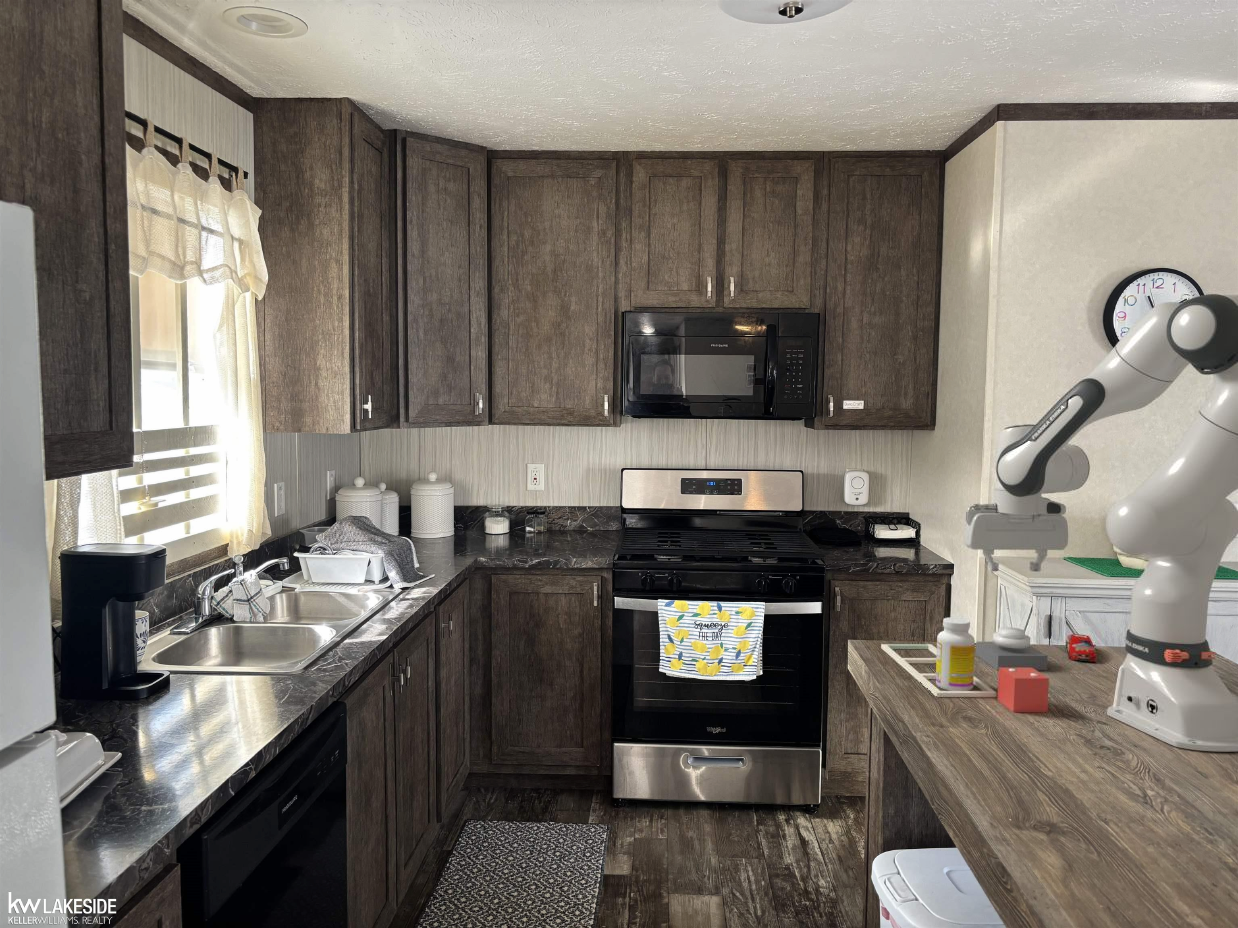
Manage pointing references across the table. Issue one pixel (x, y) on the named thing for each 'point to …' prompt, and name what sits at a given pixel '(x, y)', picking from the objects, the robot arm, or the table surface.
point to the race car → (1080, 648)
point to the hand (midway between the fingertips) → (1014, 570)
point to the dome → (1011, 638)
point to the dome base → (1011, 656)
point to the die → (1023, 689)
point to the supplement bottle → (955, 656)
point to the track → (923, 677)
